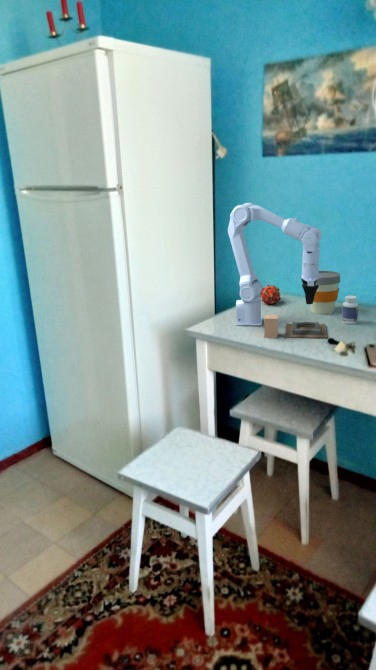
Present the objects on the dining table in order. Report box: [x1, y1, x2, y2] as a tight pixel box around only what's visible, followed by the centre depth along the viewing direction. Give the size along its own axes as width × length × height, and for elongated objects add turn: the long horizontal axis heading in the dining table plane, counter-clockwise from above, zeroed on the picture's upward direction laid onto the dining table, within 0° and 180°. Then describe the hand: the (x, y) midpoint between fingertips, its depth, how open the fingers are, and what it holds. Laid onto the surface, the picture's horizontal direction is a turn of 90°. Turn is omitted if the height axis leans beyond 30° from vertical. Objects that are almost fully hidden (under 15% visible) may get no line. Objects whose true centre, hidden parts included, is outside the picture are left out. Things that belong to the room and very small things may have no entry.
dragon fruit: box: [260, 284, 282, 306], centre depth 206 cm, size 8×8×12 cm
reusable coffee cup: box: [309, 270, 341, 315], centre depth 191 cm, size 13×12×15 cm
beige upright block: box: [263, 314, 279, 339], centre depth 169 cm, size 4×4×7 cm
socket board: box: [284, 321, 328, 340], centre depth 172 cm, size 14×14×2 cm
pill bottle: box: [341, 295, 359, 325], centre depth 177 cm, size 5×5×10 cm
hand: (309, 300), depth 172 cm, fingers open, 7 cm apart
